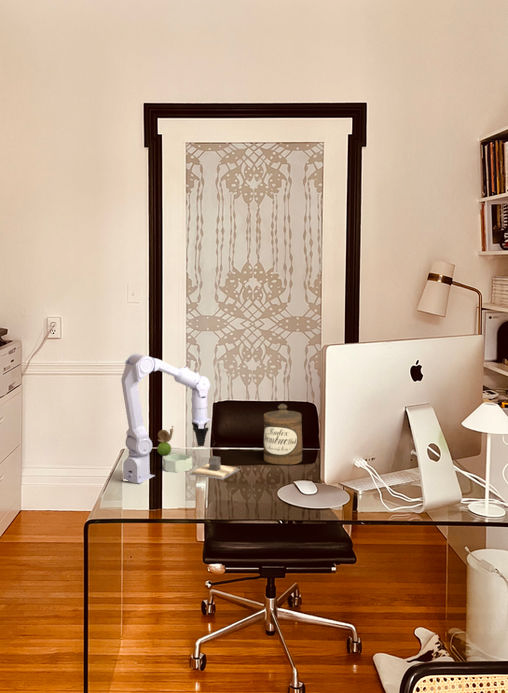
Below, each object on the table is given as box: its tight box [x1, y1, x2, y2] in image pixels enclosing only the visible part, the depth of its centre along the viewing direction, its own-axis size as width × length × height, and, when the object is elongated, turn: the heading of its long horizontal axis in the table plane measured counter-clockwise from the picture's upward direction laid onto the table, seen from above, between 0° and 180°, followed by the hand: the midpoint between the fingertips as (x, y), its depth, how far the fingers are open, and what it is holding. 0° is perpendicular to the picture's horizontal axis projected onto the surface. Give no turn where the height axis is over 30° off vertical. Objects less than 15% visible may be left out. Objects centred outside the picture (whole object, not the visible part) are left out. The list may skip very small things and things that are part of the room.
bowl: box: [162, 453, 193, 473], centre depth 263 cm, size 10×10×5 cm
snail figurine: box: [157, 425, 174, 457], centre depth 282 cm, size 5×6×12 cm
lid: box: [191, 455, 238, 478], centre depth 258 cm, size 12×12×5 cm
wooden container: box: [263, 403, 303, 466], centre depth 274 cm, size 15×15×22 cm
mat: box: [188, 468, 241, 481], centre depth 258 cm, size 14×14×1 cm
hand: (200, 443), depth 265 cm, fingers open, 7 cm apart
